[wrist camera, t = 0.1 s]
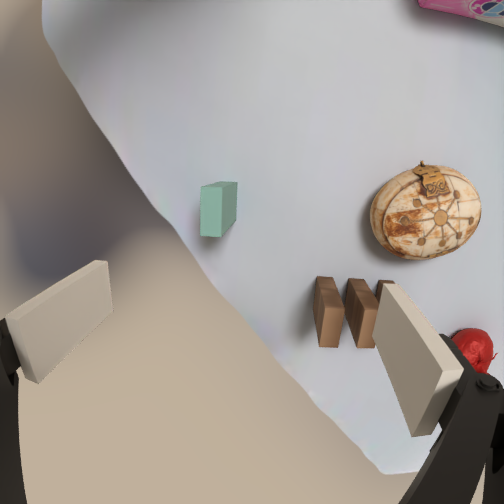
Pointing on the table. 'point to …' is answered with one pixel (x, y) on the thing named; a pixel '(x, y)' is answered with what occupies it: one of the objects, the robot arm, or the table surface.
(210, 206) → the domino
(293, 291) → the table surface
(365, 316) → the walnut domino
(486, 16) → the gum box
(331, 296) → the walnut domino
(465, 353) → the pomegranate
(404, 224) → the trinket box
